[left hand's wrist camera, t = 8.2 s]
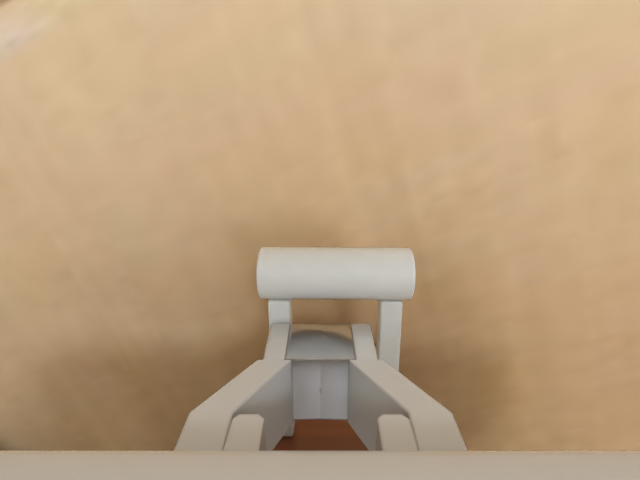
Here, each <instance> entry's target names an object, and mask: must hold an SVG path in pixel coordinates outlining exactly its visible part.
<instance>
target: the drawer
mask: <svg viewBox="0 0 640 480" xmlns="http://www.w3.org/2000/svg"><path fill="white" fill-rule="evenodd" d="M415 281H416V269H415V260H414V255H413V252H412V250H411V249H410V248H364V247H262V248H261V249H260V251H259V253H258V258H257V267H256V283H257V291H258V295H259V297H260V298H262V299H269V301H268V316H269V330H270V326H271V324H272V323H290V324H291V323H292V299H367V300H378V307H377V331H376V345H375V349H376V353H377V357H378V360H384V361H386V362H387V363H388V364H390V365H391V366H392V367H393V368H395V369H396V370H397V371H399V357H400V341H401V324H402V308H403V303H402V300H410V299H411V298H412V297H413V294H414V290H415ZM272 451H369V450H368V449H367V447H366V446H365V445H364V443H363V442H362V441H361V439H360V438H359V437H358V435H357V434H356V433H355V431H354V430H353V429H352V427H351V426H350V425H349V423H348V420H293V424H292V425H291V426H290V428H289V429H288V430H287V432H286V433H285V434H284V436H283V437H282V438H281V440H280V441H279V442H278V444H277V445H276V446H275V448H274V449H273V450H272Z"/></svg>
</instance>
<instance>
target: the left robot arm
mask: <svg viewBox="0 0 640 480" xmlns="http://www.w3.org/2000/svg"><path fill="white" fill-rule="evenodd" d="M293 420H348V423H349V425H350V426H351V427H352V429H353V430H354V431H355V433H356V434H357V435H358V437H359V438H360V439H361V441H362V442H363V443H364V445H365V446H366V447H367V449H368V450H369V451H272V450H273V449H274V448H275V446H276V445H277V444H278V442H279V441H280V440H281V438H282V437H283V436H284V434H285V433H286V432H287V430H288V429H289V428H290V426H291V425H292V424H293ZM0 480H640V451H468V449H467V447H466V445H465V442H464V440H463V438H462V435H461V433H460V430H459V428H458V426H457V423H456V421H455V419H454V416H453V414H452V413H451V412H450V411H449V410H448V409H446V408H445V407H444V406H442V405H441V404H440V403H439V402H437V401H436V400H435V399H433V398H432V397H431V396H430V395H428V394H427V393H426V392H424V391H423V390H422V389H420V388H419V387H418V386H417V385H415V384H414V383H413V382H411V381H410V380H409V379H408V378H406V377H405V376H404V375H402V374H401V373H400V372H399V371H397V370H396V369H395V368H393V367H392V366H391V365H390V364H388V363H387V362H386V361H384V360H378V357H377V353H376V349H375V344H374V340H373V336H372V331H371V327H370V324H369V323H352V324H303V323H291V324H290V323H272V324H271V326H270V330H269V335H268V339H267V344H266V348H265V353H264V357H263V360H257V361H255V362H254V363H253V364H251V365H250V366H249V367H248V368H246V369H245V370H244V371H242V372H241V373H240V374H239V375H237V376H236V377H235V378H233V379H232V380H231V381H230V382H228V383H227V384H226V385H224V386H223V387H222V388H220V389H219V390H218V391H217V392H215V393H214V394H213V395H211V396H210V397H209V398H208V399H206V400H205V401H204V402H202V403H201V404H200V405H199V406H197V407H196V408H195V409H193V410H192V411H191V412H189V415H188V417H187V420H186V422H185V424H184V427H183V429H182V431H181V434H180V436H179V438H178V441H177V443H176V446H175V448H174V450H173V451H0Z"/></svg>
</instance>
